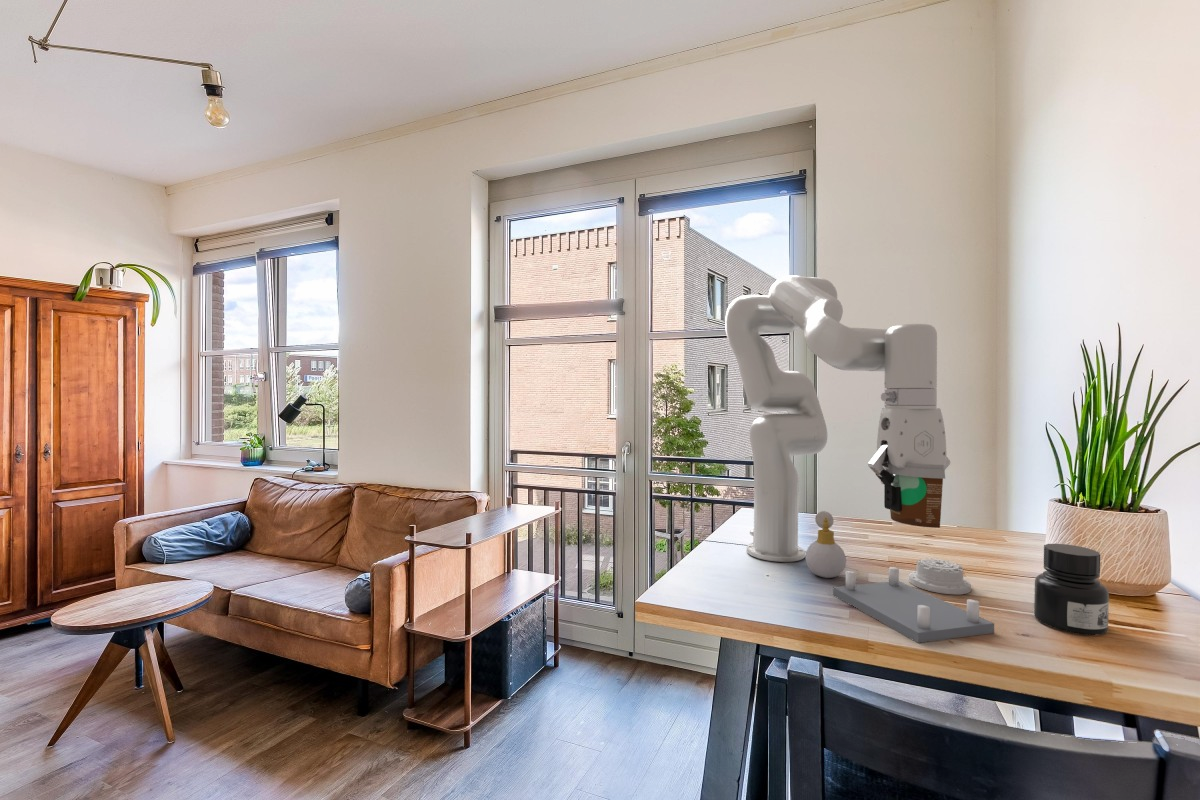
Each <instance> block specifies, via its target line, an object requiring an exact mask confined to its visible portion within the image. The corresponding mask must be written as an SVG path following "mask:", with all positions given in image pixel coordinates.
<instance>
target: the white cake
mask: <svg viewBox="0 0 1200 800" xmlns="http://www.w3.org/2000/svg"><path fill="white" fill-rule="evenodd" d="M908 581H909V583H910V584H911V585H913V586H915V587H917V588H920V589H922V590H925V591H929V592H933V593H939V594H944V595H964V594H965V595H966V594H969V593H970V592H971V590H972V583H971V582H970V581H969V580H968V579H966V578H964V568H963V566H962V565H960V564H959V563H955V562H952V561H949V560H943V559H939V558H927V557H926V558H924V559H920V558H919V559H918V561H916V569H915V570H913V571H912V572H910V573H909V574H908Z"/></svg>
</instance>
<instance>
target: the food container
mask: <svg viewBox="0 0 1200 800" xmlns="http://www.w3.org/2000/svg"><path fill="white" fill-rule="evenodd" d="M885 465H886V464H885ZM883 467H884V466H883ZM888 467H889V469H887V471H888V472H889V473H890V474H891V475H892V476H893V474H896V475H899V486H898V487H901V500H902V510H901V511H894V510H890V509H889V511H890V512H889V513H890V519H891V520H893V521H894V522H895V523H900V524H902V525H903V524H904V525H909V526H914V527H922V528H934V529H939V528H940V529H941V517H942V516H941V515H942V500H943V485H944V484H943V483H944V479H946V472H945V471H946V469H945V470H944V465H933V464H916V463H907V465H906V467H905V468H904V469H903V470H901V469H898V468H896V466H893V465H892V464H891V462H890V461H889V464H888ZM884 468H885V467H884Z"/></svg>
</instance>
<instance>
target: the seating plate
mask: <svg viewBox="0 0 1200 800" xmlns="http://www.w3.org/2000/svg"><path fill="white" fill-rule="evenodd" d="M899 573H900V568H898V567H896V566H890V567H889V568H888V581H884V582H873V583H871V582H870V583H861V584H860V583H859V584H856V578H857V577H856V572H855V571H852V570H846V571H845V585H842V586H841V585H840V586H834V587H832V588H833V590H832V591H833V593H832V595H834V597H835V596H836V597H835V598H837V597H838V599H839V598H840V599H839V600H841V599H842V600H843V601H842V600H841V601H842V602H844V601H845V602H844V603H846V602H847V603H846V604H848V603H849V604H851V605H853V606H854V607H853V606H852V607H853V608H855V607H856V608H855V609H857V608H858V609H860V610H861V611H860V610H859V611H860V612H862V611H863V612H862V613H864V614H865V613H866V615H867V614H868V615H867V616H869V615H870V617H871V616H872V617H871V618H873V619H874V618H875V620H876V619H877V620H876V621H878V620H879V621H878V622H879V623H881V624H884V625H885V626H887V627H889V628H891V629H892V630H894V631H896V632H898V633H899V634H901V635H903V636H905V637H906V638H908V637H909V638H908V639H910V638H911V639H910V640H912V639H913V640H912V641H914V640H915V641H916V643H917V642H918V643H917V644H920V642H922V643H928V642H927V641H930V642H936V640H937V641H944V640H950V639H959V638H965V637H973V636H982V635H989V634H995V623H994V622H993V621H990V620H988V619H987V618H984V617H982V616H980V601H978V600H976V599H966V609H963V608H961V607H960V606H959V607H958V606H956V605H954V604H952V603H949V602H947V601H945V600H943V599H940V598H938V597H937V596H934V595H932V594H930V593H928V592H924V591H923V590H920V589H918V588H915V587H913V586H911V585H909V584H907V583H904V582H902V581H900V574H899ZM849 604H848V605H849ZM851 605H850V606H851ZM858 609H857V610H858ZM915 641H914V642H915Z"/></svg>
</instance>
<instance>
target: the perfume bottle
mask: <svg viewBox="0 0 1200 800" xmlns="http://www.w3.org/2000/svg"><path fill="white" fill-rule="evenodd" d="M814 519H815V524H816V525H817V526H818V527H819V528H820V529H818V531H817V539H816V540H815V541H813V542H812V543H811V544H810V545H809V546H808V547H807V550H805V562H806V565H807V567H808V569H809V570H810V572H812V573H813V574H814V575H816V576H818V577H820V578H826V579H832V578H837V577H838V576H840V575H841V574H842V573H844V570H845V569H846V567H847V566H846V565H847V556H846V554H845V551H844V550H843V548H842V547H841V546H840V545H839V544H838V543H836V542H835V536H834V534H835V532H834V531H833V530H830V528H832V526H833V525H834V520H835V519H834V517H833V515H832V514H831V513H830V512H828V511H825V510H823V511H819V512H818V513H817V514H816V515H815V518H814Z"/></svg>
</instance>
